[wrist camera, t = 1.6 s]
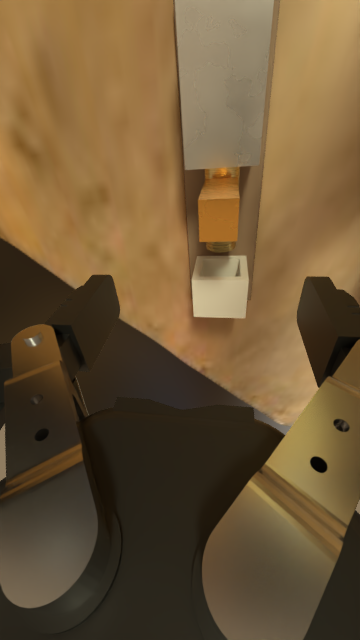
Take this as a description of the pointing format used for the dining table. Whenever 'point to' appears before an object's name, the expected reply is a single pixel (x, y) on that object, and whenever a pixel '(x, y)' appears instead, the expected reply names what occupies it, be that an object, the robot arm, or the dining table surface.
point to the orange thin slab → (219, 209)
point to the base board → (247, 184)
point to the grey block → (223, 79)
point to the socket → (220, 286)
